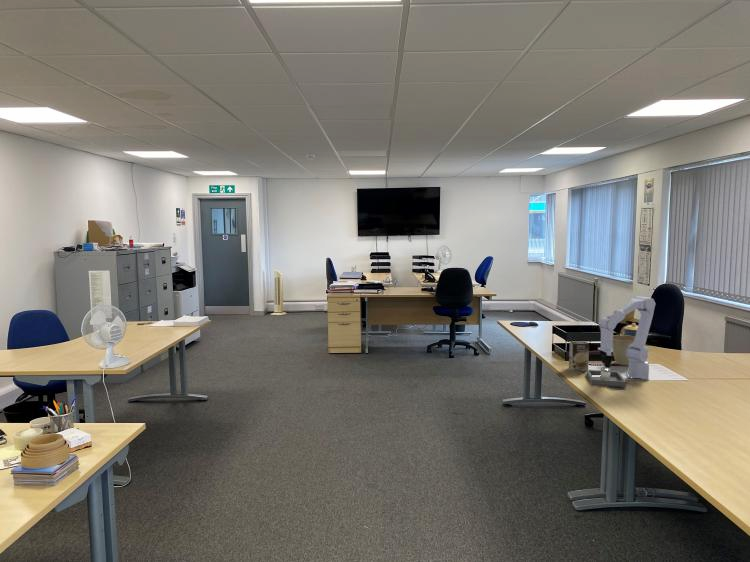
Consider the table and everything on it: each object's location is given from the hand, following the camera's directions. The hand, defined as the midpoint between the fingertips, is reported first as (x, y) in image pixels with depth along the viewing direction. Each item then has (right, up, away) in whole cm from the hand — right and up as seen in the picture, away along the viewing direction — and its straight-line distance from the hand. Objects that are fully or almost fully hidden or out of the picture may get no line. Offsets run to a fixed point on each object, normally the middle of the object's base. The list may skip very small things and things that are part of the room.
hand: (606, 365), depth 252 cm
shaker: (0, -8, +1) cm, 8 cm away
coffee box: (-5, -7, +22) cm, 24 cm away
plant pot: (+26, -5, +32) cm, 41 cm away
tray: (0, -8, +1) cm, 9 cm away
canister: (+50, -1, +66) cm, 83 cm away
